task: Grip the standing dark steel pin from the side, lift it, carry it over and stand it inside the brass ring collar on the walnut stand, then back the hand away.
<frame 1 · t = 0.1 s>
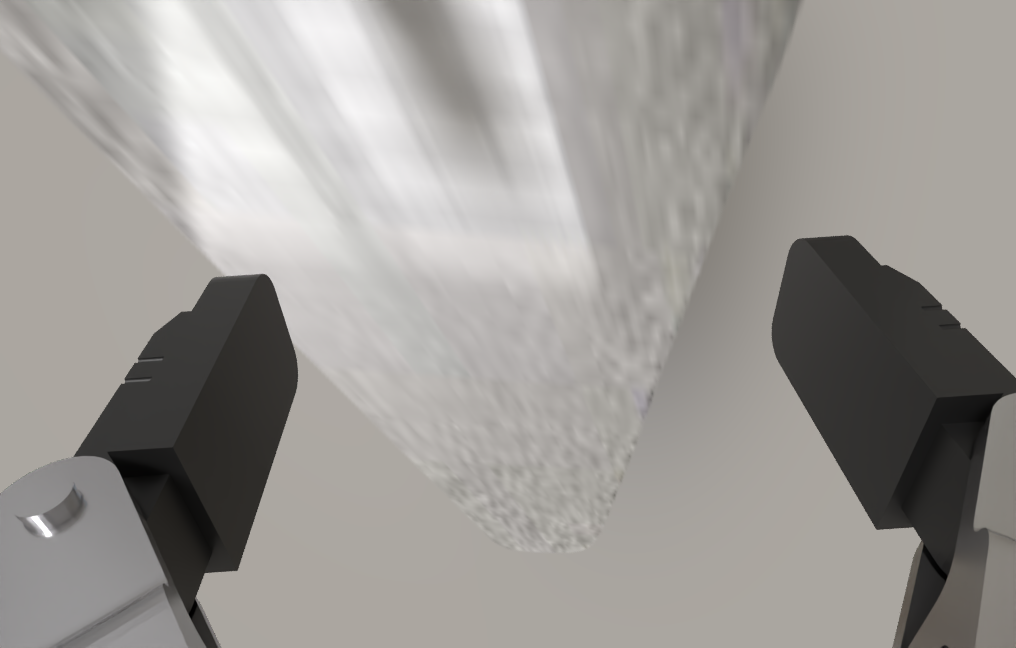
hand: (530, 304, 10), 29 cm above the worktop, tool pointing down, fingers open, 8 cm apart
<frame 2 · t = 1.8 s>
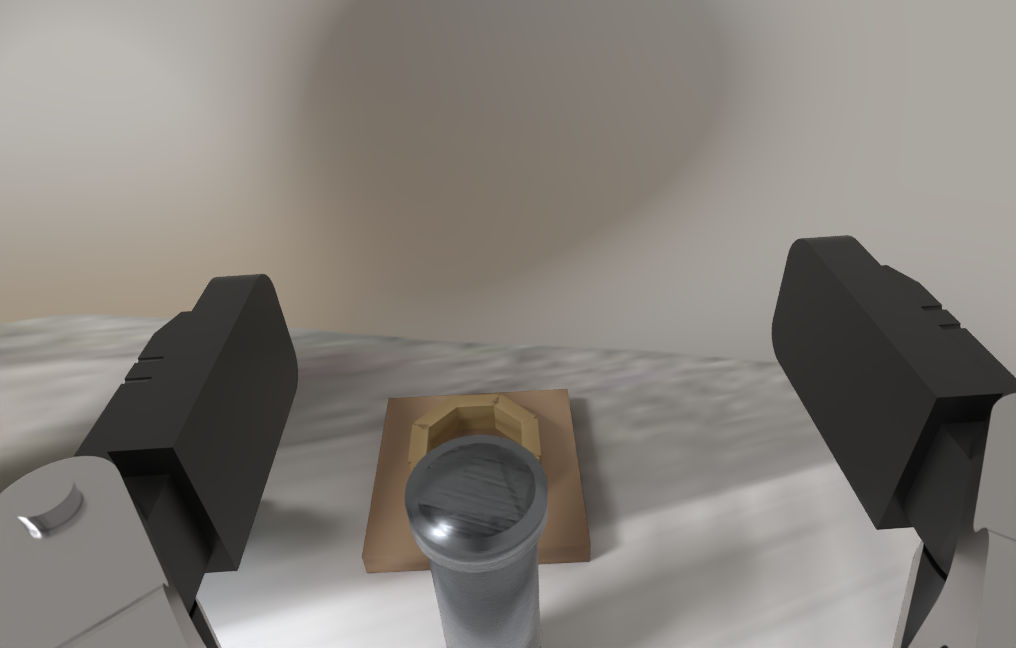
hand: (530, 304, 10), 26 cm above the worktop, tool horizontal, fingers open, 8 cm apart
stand: (479, 479, 40), on the worktop
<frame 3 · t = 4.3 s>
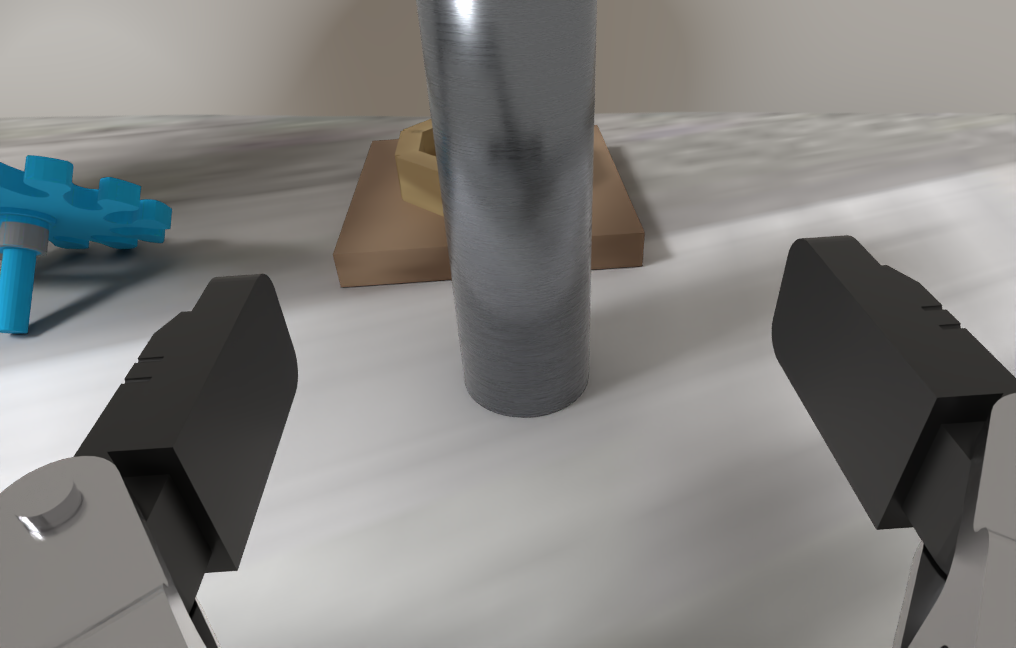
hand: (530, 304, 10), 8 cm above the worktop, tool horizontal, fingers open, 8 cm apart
pin: (526, 373, 21), on the worktop
gear: (61, 293, 27), on the worktop
stand: (488, 209, 31), on the worktop
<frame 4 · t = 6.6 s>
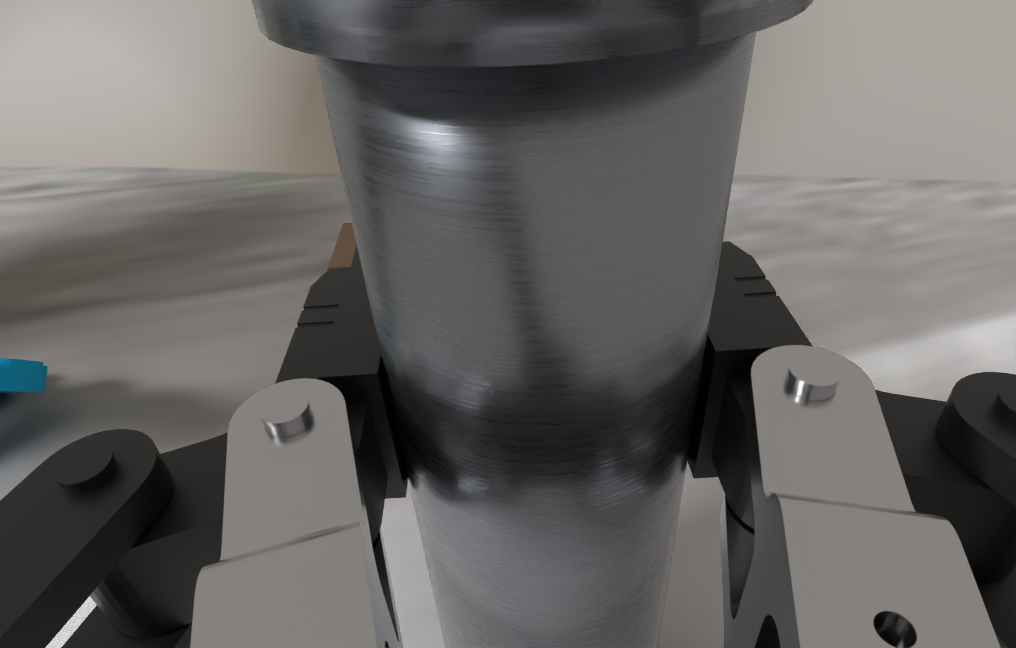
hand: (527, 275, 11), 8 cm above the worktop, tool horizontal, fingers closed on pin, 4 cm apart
stand: (492, 328, 23), on the worktop
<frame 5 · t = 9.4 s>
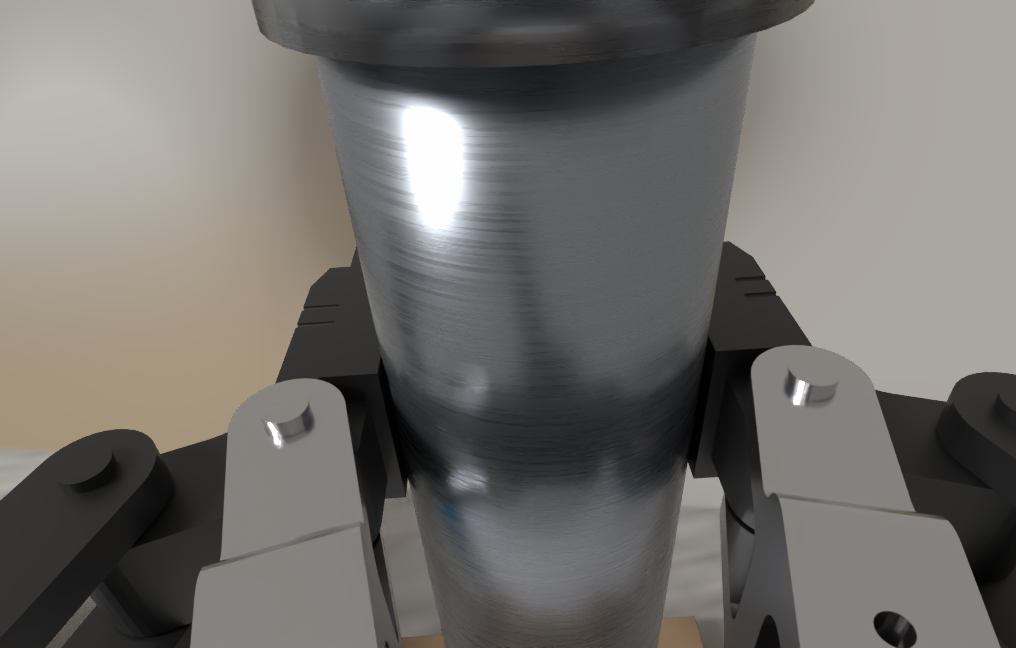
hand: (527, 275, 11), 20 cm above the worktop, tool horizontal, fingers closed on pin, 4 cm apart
when the fingers open (10 cm above the worktop, at t = 12.2 s): pin stays where it is, resting on stand.
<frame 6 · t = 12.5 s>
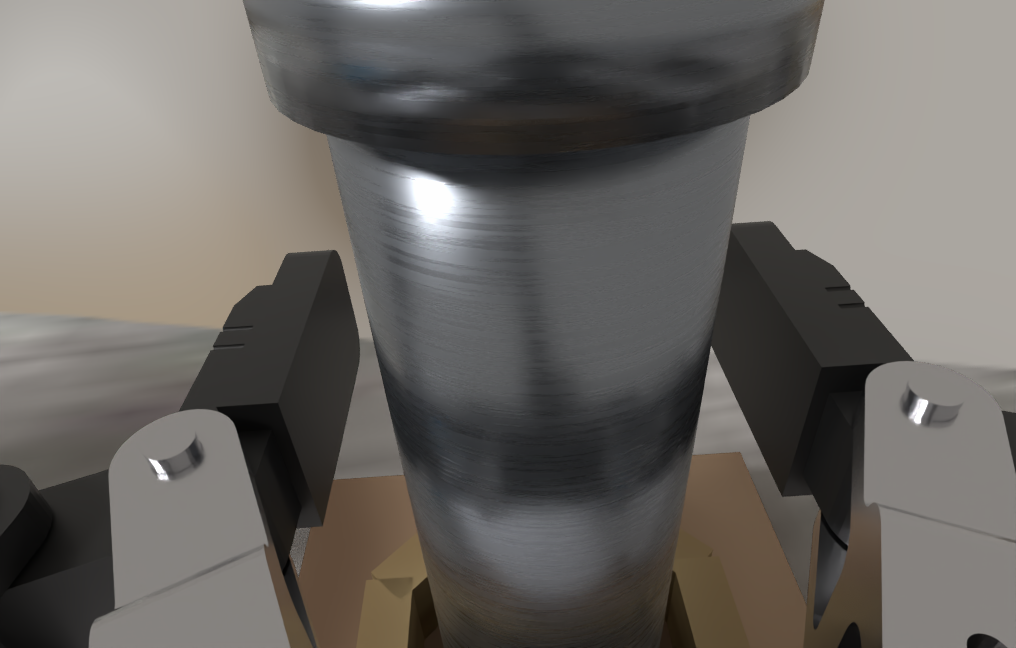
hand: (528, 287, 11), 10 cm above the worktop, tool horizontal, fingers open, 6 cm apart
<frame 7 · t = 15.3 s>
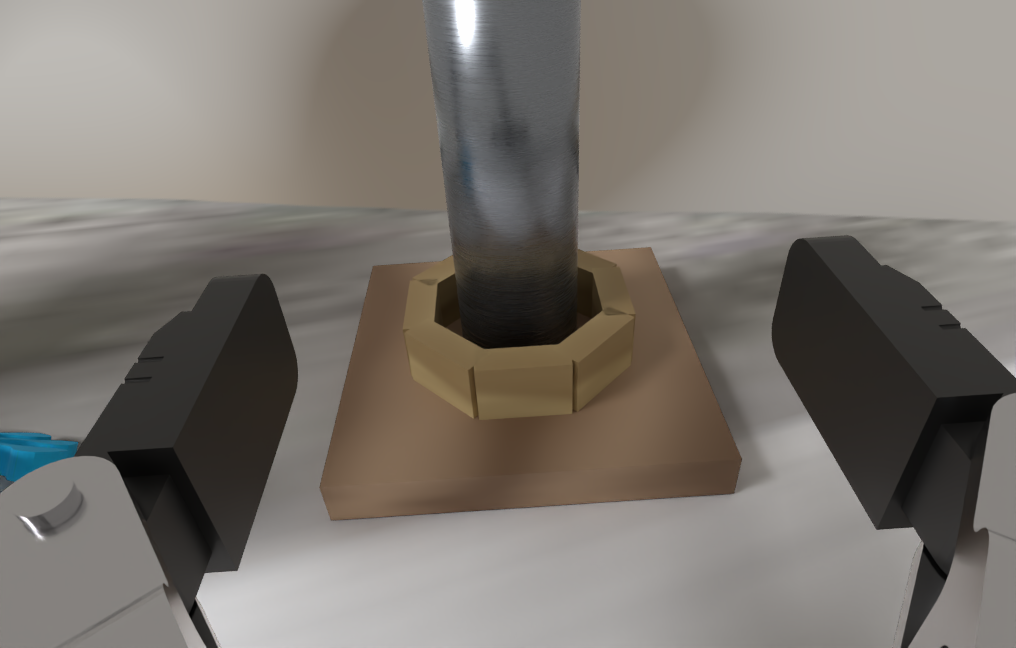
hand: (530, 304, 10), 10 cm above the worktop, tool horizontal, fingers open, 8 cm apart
pin: (520, 343, 23), point 2 cm above the worktop, touching stand
stand: (521, 374, 24), on the worktop
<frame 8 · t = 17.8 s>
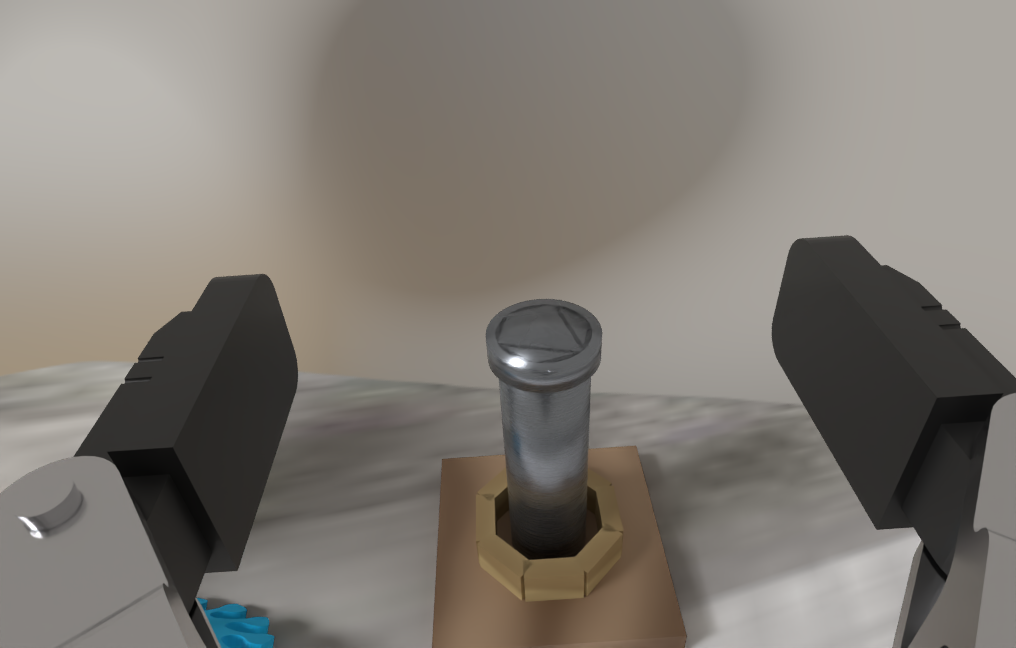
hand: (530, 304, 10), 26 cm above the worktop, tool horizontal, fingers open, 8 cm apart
pin: (548, 536, 35), point 2 cm above the worktop, touching stand
stand: (548, 551, 36), on the worktop
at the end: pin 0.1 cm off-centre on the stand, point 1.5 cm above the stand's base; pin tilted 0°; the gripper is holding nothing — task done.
